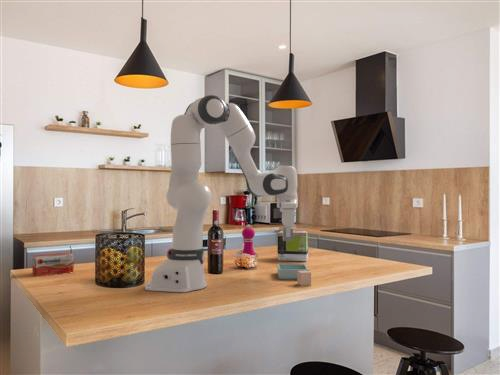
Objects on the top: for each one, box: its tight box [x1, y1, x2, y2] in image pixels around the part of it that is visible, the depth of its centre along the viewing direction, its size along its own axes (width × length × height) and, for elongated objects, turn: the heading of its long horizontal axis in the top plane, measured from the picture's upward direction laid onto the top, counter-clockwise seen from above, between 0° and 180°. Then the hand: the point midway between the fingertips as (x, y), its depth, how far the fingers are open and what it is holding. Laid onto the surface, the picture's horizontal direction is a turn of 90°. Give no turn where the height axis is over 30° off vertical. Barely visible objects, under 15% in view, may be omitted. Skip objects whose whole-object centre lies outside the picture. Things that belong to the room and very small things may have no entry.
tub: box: [277, 263, 310, 281], centre depth 172 cm, size 12×13×4 cm
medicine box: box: [31, 252, 75, 277], centre depth 176 cm, size 15×8×8 cm, turn 125°
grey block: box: [282, 227, 294, 241], centre depth 173 cm, size 4×4×5 cm
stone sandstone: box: [296, 270, 312, 287], centre depth 157 cm, size 4×4×5 cm
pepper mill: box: [241, 224, 256, 255], centre depth 192 cm, size 7×7×20 cm
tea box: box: [276, 230, 309, 262], centre depth 214 cm, size 15×10×15 cm
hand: (287, 236), depth 173 cm, fingers closed on grey block, 4 cm apart
